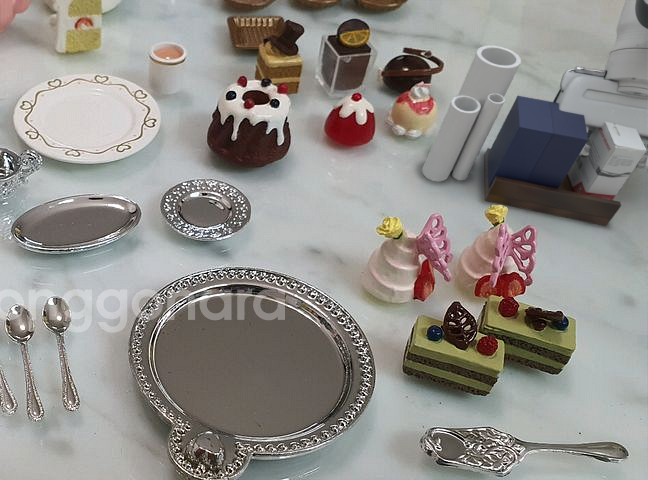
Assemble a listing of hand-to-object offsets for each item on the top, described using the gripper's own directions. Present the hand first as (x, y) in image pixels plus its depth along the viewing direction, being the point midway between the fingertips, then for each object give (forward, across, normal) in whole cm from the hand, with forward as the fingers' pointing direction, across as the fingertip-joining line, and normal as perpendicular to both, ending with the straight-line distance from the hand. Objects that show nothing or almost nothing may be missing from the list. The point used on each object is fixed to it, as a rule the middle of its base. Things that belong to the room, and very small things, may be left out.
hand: (610, 162), depth 121 cm
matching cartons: (+4, -11, +5) cm, 13 cm away
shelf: (+5, -7, +6) cm, 11 cm away
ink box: (+4, 0, +5) cm, 7 cm away
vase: (+4, -22, +7) cm, 24 cm away
